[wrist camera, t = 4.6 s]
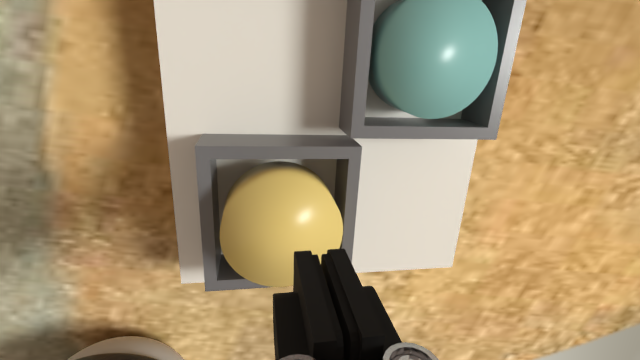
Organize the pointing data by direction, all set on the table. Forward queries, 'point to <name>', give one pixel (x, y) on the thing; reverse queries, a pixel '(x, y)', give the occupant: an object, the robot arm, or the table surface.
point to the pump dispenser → (127, 350)
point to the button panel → (313, 127)
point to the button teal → (432, 55)
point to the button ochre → (277, 221)
